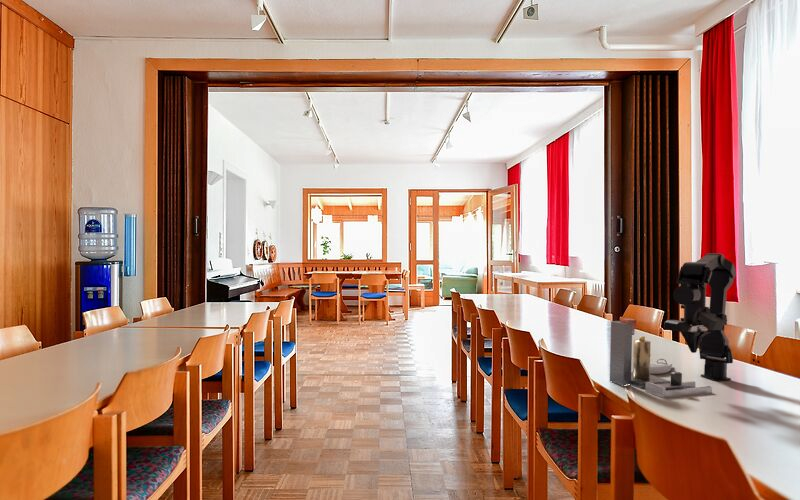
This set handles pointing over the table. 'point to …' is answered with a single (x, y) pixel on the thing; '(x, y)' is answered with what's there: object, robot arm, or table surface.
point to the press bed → (625, 355)
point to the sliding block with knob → (674, 382)
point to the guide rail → (664, 393)
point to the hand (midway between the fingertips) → (693, 352)
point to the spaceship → (660, 367)
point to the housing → (641, 358)
